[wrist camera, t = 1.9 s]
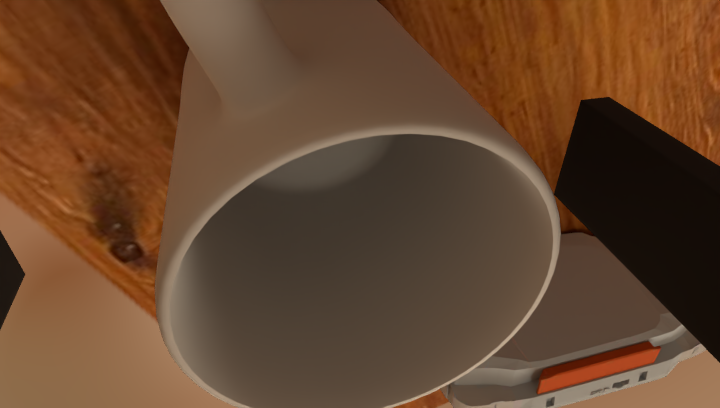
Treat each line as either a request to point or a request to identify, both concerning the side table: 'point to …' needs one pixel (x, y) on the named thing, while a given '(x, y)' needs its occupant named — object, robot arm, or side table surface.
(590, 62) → the side table surface
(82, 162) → the side table surface
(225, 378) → the mug
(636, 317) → the grey case
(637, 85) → the side table surface
